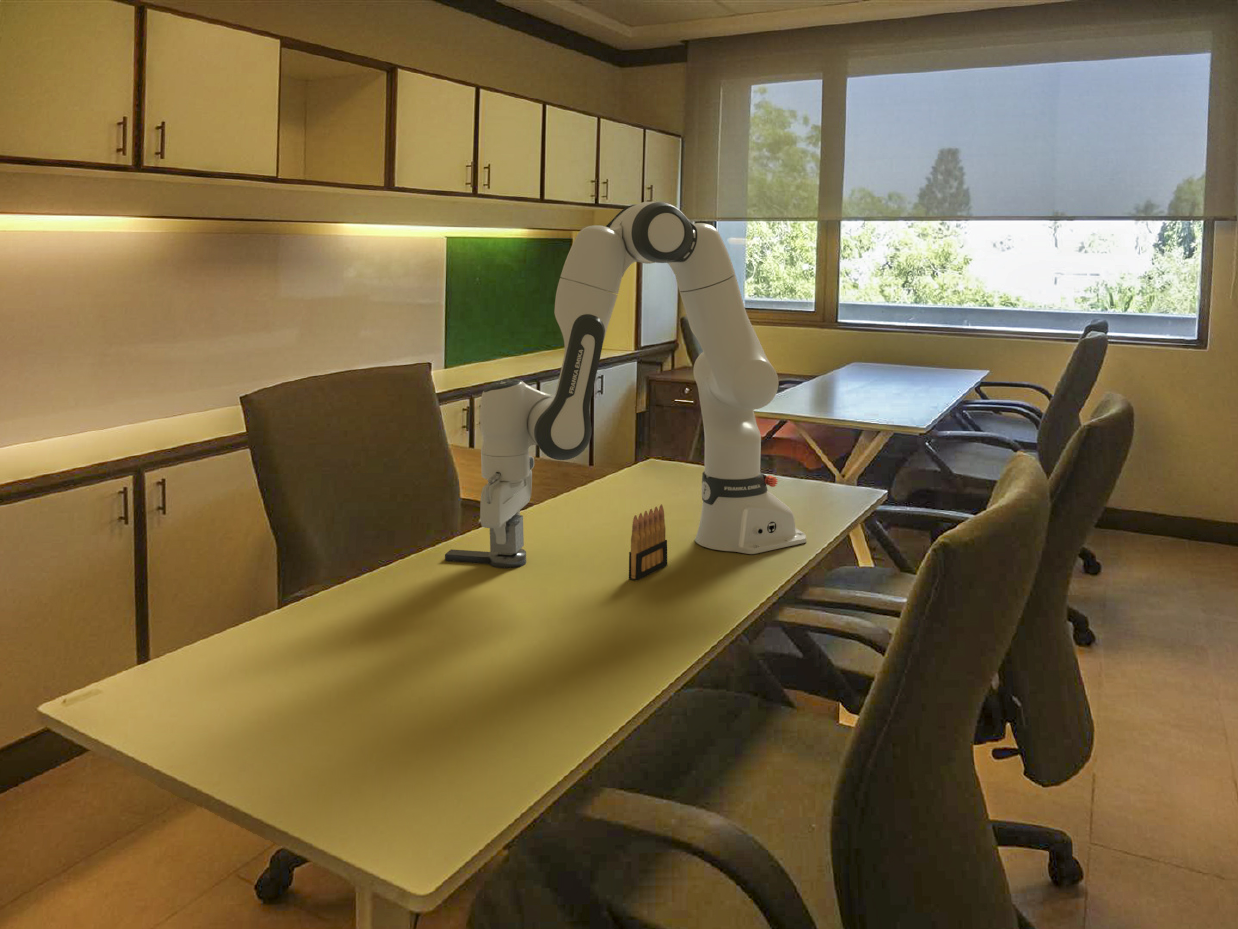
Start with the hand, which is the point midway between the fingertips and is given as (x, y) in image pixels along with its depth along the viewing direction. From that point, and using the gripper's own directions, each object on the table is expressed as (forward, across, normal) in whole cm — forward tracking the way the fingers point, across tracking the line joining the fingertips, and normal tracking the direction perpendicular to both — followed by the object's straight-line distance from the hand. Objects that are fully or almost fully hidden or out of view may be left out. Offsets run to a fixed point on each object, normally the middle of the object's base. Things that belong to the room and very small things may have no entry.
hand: (507, 538), depth 203 cm
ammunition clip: (+5, 0, -27) cm, 28 cm away
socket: (+2, 0, 0) cm, 2 cm away
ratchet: (+5, 0, +4) cm, 6 cm away
